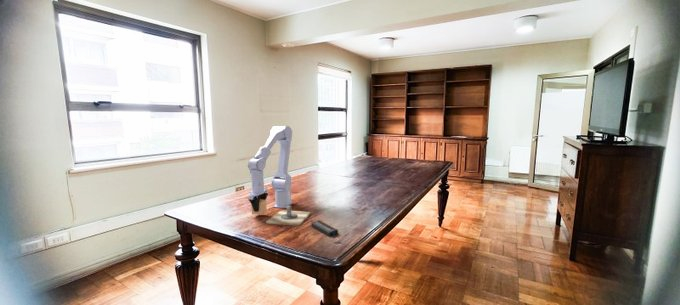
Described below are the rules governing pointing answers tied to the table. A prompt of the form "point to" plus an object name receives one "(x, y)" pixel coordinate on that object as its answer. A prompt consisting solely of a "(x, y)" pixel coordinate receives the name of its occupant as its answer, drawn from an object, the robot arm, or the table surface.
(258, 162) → the robot arm
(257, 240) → the table surface
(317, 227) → the multiport hub
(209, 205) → the table surface
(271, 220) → the post board
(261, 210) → the collar
